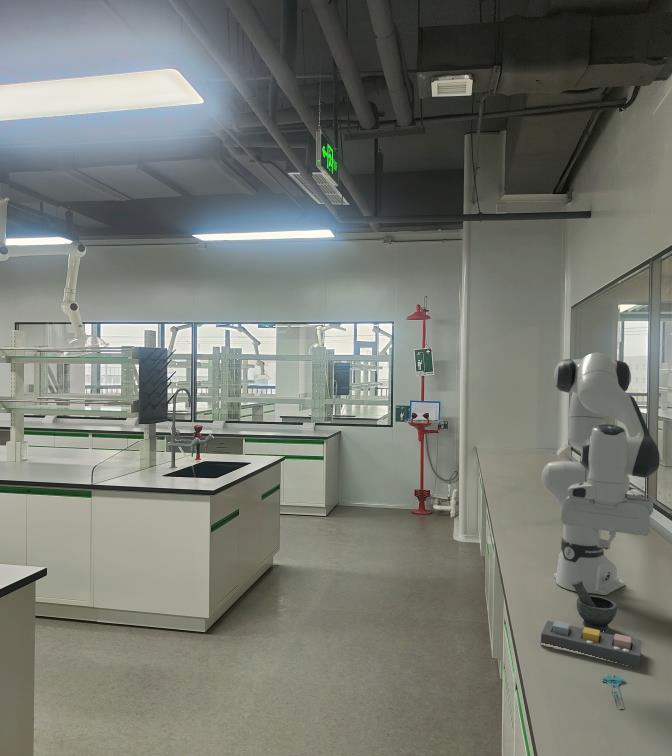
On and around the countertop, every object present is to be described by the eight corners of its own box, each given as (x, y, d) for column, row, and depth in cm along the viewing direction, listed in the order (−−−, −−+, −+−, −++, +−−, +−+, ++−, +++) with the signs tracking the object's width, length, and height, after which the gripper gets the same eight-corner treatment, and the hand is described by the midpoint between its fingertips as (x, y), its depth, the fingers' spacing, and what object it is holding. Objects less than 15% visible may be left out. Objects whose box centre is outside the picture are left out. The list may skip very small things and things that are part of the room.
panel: (540, 645, 156) (541, 632, 155) (546, 631, 164) (547, 619, 163) (639, 668, 145) (640, 655, 145) (640, 653, 153) (641, 640, 153)
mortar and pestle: (614, 624, 170) (616, 580, 169) (616, 638, 161) (618, 592, 161) (570, 616, 174) (572, 573, 174) (569, 630, 165) (572, 585, 165)
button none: (552, 634, 157) (552, 625, 157) (554, 629, 160) (554, 620, 160) (567, 637, 155) (567, 628, 155) (569, 632, 158) (569, 623, 158)
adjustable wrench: (600, 672, 142) (625, 676, 140) (600, 676, 142) (624, 680, 140) (608, 704, 128) (635, 709, 127) (607, 709, 128) (634, 714, 127)
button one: (582, 641, 154) (582, 632, 153) (583, 635, 157) (584, 626, 157) (598, 644, 152) (598, 635, 152) (599, 639, 155) (599, 630, 155)
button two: (613, 648, 150) (613, 639, 150) (614, 642, 153) (614, 633, 153) (629, 651, 149) (630, 642, 149) (630, 646, 152) (631, 637, 152)
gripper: (653, 494, 152) (651, 551, 152) (564, 484, 161) (562, 537, 162) (653, 499, 146) (650, 558, 147) (561, 488, 156) (558, 544, 156)
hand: (603, 547), depth 154 cm, fingers closed
